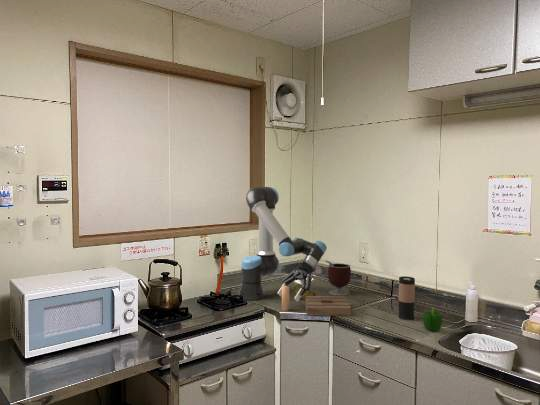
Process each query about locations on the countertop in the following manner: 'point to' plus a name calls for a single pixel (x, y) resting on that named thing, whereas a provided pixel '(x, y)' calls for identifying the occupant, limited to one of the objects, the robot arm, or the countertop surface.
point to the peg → (285, 298)
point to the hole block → (327, 305)
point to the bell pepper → (432, 320)
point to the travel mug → (406, 297)
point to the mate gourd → (339, 277)
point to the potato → (307, 293)
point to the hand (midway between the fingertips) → (287, 297)
